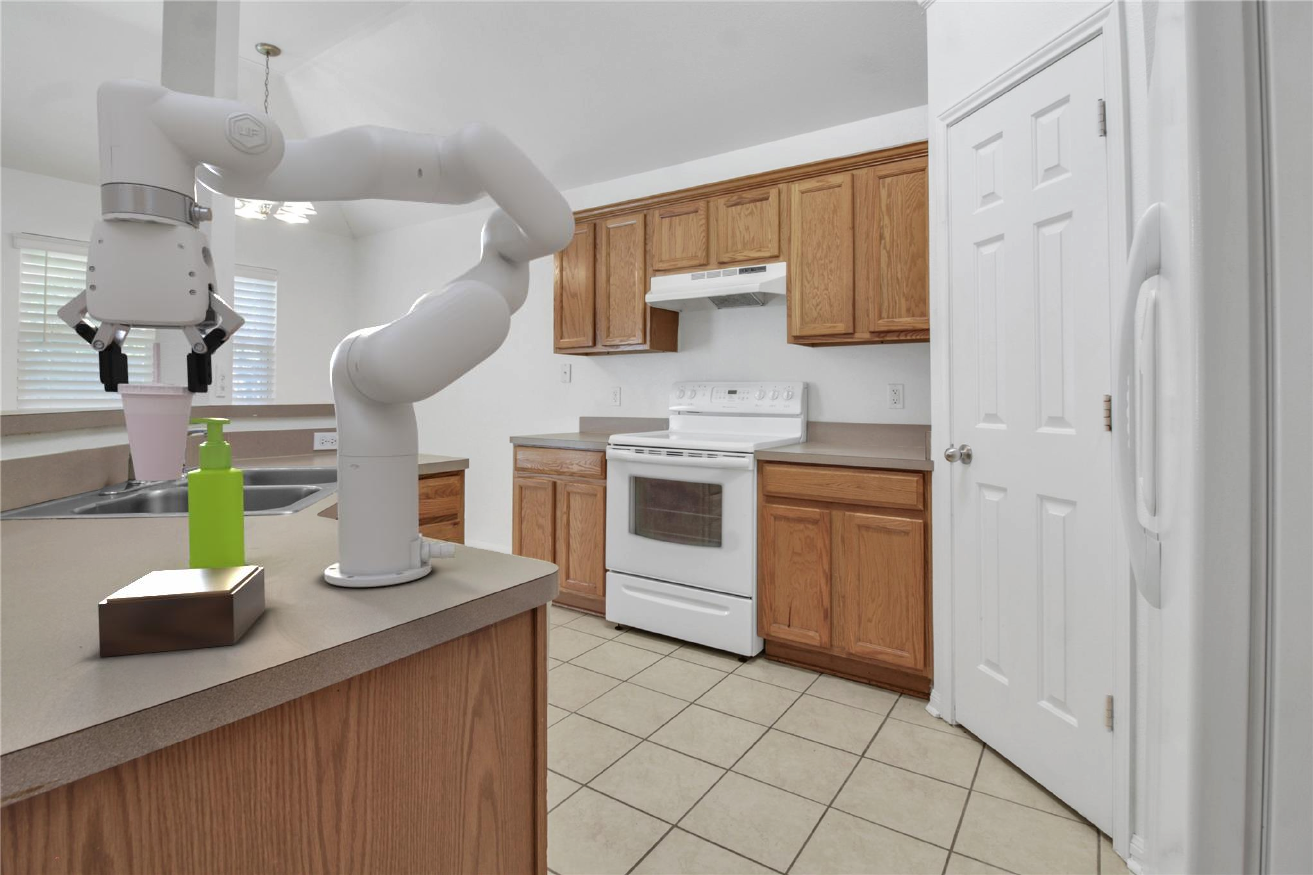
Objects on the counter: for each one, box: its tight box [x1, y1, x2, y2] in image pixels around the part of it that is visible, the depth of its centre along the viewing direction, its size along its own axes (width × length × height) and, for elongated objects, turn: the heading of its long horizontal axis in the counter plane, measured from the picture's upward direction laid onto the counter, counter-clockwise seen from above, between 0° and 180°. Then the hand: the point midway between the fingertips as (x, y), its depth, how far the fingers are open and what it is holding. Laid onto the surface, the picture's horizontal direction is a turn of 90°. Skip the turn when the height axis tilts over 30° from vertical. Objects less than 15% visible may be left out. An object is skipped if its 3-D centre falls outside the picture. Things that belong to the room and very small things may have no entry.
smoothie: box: [116, 342, 197, 482], centre depth 65 cm, size 6×6×14 cm
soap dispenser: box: [187, 417, 246, 570], centre depth 82 cm, size 6×7×20 cm
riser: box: [97, 565, 266, 658], centre depth 60 cm, size 10×10×5 cm
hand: (158, 390), depth 65 cm, fingers closed on smoothie, 6 cm apart
